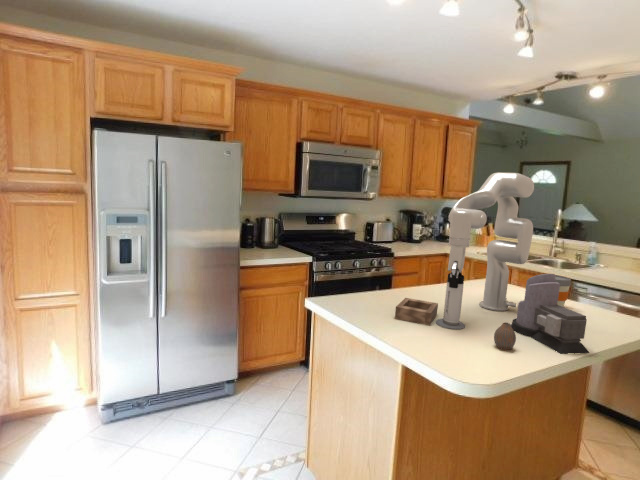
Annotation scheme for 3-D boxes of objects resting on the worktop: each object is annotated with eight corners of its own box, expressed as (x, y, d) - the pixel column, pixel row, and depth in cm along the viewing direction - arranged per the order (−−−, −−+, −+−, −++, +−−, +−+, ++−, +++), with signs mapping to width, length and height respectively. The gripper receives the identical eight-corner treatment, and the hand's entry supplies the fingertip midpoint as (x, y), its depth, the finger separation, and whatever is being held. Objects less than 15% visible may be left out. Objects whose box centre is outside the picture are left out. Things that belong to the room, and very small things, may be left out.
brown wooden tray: (436, 314, 176) (438, 303, 175) (429, 325, 161) (430, 313, 161) (404, 308, 182) (405, 297, 181) (394, 318, 167) (395, 306, 167)
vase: (489, 343, 146) (492, 319, 145) (507, 343, 147) (510, 320, 145) (499, 351, 139) (502, 326, 138) (518, 352, 140) (521, 327, 138)
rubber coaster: (466, 323, 166) (466, 321, 166) (463, 331, 157) (463, 330, 156) (438, 318, 171) (438, 316, 171) (433, 325, 161) (433, 324, 161)
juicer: (500, 323, 169) (507, 265, 165) (534, 323, 172) (542, 266, 168) (555, 354, 140) (565, 284, 136) (595, 353, 143) (606, 284, 139)
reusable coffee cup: (571, 309, 195) (576, 278, 193) (559, 313, 188) (564, 281, 186) (544, 302, 205) (548, 273, 203) (532, 306, 198) (536, 275, 196)
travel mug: (457, 320, 167) (462, 272, 164) (460, 326, 161) (466, 276, 158) (441, 319, 168) (446, 271, 165) (444, 324, 161) (449, 275, 158)
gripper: (452, 238, 169) (448, 279, 171) (445, 244, 153) (441, 288, 156) (471, 240, 165) (467, 281, 168) (466, 246, 150) (462, 291, 153)
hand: (455, 284), depth 162 cm, fingers open, 9 cm apart
